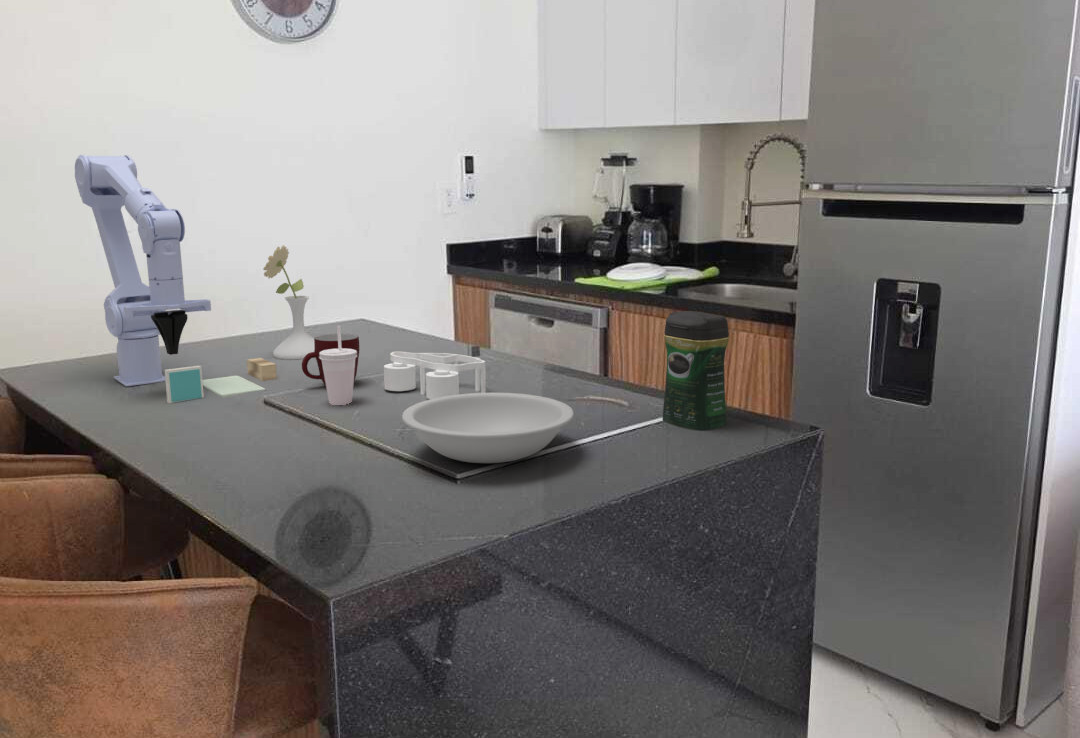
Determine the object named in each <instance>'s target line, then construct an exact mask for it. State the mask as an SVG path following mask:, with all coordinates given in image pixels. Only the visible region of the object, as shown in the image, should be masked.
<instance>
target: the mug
mask: <svg viewBox="0 0 1080 738" xmlns="http://www.w3.org/2000/svg"><path fill="white" fill-rule="evenodd" d="M313 338H314V352H311V353H308V354H307V355H306V356H305V357H304V359H302V362H301V370H302V372H303V374H304V375H305V376H306V377H308V378H310V379H312V380H321V381H322V383H323V384H324V386H325V387H326V382H325V377H324V371H323V366H322V360H321V359H319V357H320V355H319V353H320V352H321V351H323V350H328V349H338V333H329V334H327V333H326V334H322V335H321V334H320V335H317V336H315V337H313ZM341 346H342V348H346V349H354V350H356V351H357V357H356V358H355V370H354V381H355V380H356V377H357V373H358V372H357V371H358V364H359V357H360V337H359V335H357V334H352V333H341ZM311 359H316V363H317V367H318V371H319V372H318V373H319V374H312V373H311V372H310V371H309V369H308V364H309V362H310V360H311Z"/></svg>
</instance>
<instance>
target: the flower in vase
mask: <svg viewBox="0 0 1080 738" xmlns="http://www.w3.org/2000/svg"><path fill="white" fill-rule="evenodd" d="M289 253H290V251H289V248H287V247H286V246H285V245H284V244H283V245H281V247H280V246H277V247H276V249H274V252H273V254H272V255H269V256H268V258H267V259H268V261H267V262H266V264H265V266H264V267H263V271H264V273H263V276H264V277H266V278H267V277H268V279H269V280H270V279H273V278H274V277H276V276H277V275H278V274H279V273H281V271H282V270H283V272H284V274H285V277H286V280H287V282H283V283H282V284H280V285H279V286H278V287H277V289H276V291H275V293H276V294H281V295H282V294H285V293H286V292H287V290H289V288H290V289H291V291H292V293H293V295H290V296H286V297H285V296H284V299H285V300H286V302H287V303H288V305H289V307H290V310H291V315H292V316H291V317H292V331H291V333H290V334H289V335H288V336H287V337H286V338H285V339H283V340H282V342H280V343H279V344H278V345H277V346H276V348H274V350H273V352H272V355H273V358H276V359H279V360H290V361H292V360H296V361H297V360H303V359H304V357H305V356H306V355H307V354H308V353H311V352H314V338H315V337H313V336H311V335H310V334H309V333H308V332H307V330H306V328H305V319H304V316H305V315H304V314H305V306H306V304H307V302H308V300H309V298H310V296H307V295H296V293H297V292H299V291H301V290H304V286H305V285H304V282H303V279H302V278H300V279H298V280H296V282H294V283H292V284H291V281H290V277H289V275H288V273H287V271H286V269H285V266H286V264H287V262H288V261H287V260H288V259H289V258H288V257H289Z"/></svg>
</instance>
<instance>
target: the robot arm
mask: <svg viewBox="0 0 1080 738" xmlns="http://www.w3.org/2000/svg"><path fill="white" fill-rule="evenodd" d="M137 169H138V168H137V165H136V162H135V160H134V159H133V158H132V157H131V156H130V155H128V154H127V155H123V156H122V155H85V154H79V155H77V158H76V160H75V162H74V178H75V182H76V187H77V189H78V193H79V196H80V198H81V201H82V204H85V205H86V206H88V207H90V208H91V209H92V213H93V216H94V219H95V223H96V225H97V229H98V233H99V236H100V237H99V238H100V240H101V243H102V247H103V251H104V254H105V258H106V261H107V264H108V268H109V272H110V276H111V278H112V282H113V285H114V289H113V290H112V291H111V292H109V294H108V295H107V296H106V297H105V299H104V302H103V307H104V308H103V309H104V316H105V318H104V319H105V324H106V328H107V330H108V331H109V333H110V334H111V335H112V336H113V337H115V338H117V344H116V356H117V366H118V375H114V376H113V378H114V380H116V381H117V382H119V383H120V384H121V385H123V386H124V387H132V386H141V385H148V384H149V385H150V384H156V383H164V382H163V381H165V375H163V373H162V359H161V349H160V339H159V338H160V337H159V336H161V339H162V341H163V343H164V347H165V350H166V353H167V354H168V355H170V356H172V355H178V354H179V346H180V341H181V338H182V337H181V336H182V334H183V331H184V327H185V326H186V323H187V321H188V314H187V313H193V312H203V311H204V312H211V311H212V304H211V300H210V299H192V300H191V299H190V300H187V299H186V300H185V286H184V275H183V264H182V253H181V252H182V250H181V242H183V240H184V238H185V233H186V227H185V226H186V225H185V220H184V217H183V215H182V214H181V212H180V211H179V209H176V208H167V207H166V205H164V203H163V202H162V201H161V200H160V198H159V197H158V196H157V194H156V193H154V191H152V190H151V189H150V188H149V187H143V186H142V185H141V183H140V182H139V180H138V170H137ZM123 207H124V208H125V210H126V211H127V213H128V214H129V215H130V217H132V219H133V220H134V221H135V223H136V224H137V231H138V232H137V233H138V237H139V238H140V240H141V245H142V246H141V248H142V250H143V253H144V254H146V266H147V276H148V277H147V278H148V285H147V284H145V283H143V281H142V279H141V275H140V271H139V268H138V265H137V261H136V258H135V254H134V251H133V247H132V245H131V241H130V237H129V234H128V230H127V226H126V223H125V218H124V216H123V213H122V208H123ZM165 382H166V381H165Z"/></svg>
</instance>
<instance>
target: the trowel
mask: <svg viewBox="0 0 1080 738" xmlns="http://www.w3.org/2000/svg"><path fill="white" fill-rule="evenodd" d="M246 367H247V369H246V370H247V374H248V375H250V376H251V377H253V378H256V379H257V380H260V381H262V382H264V381H265V382H266V381H271V380H277V378H278V377H277V364H276V363H274V362H271V361H269V360H266V359H265V358H262V357H256V358H249V359H248V358H247V359H246Z"/></svg>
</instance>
